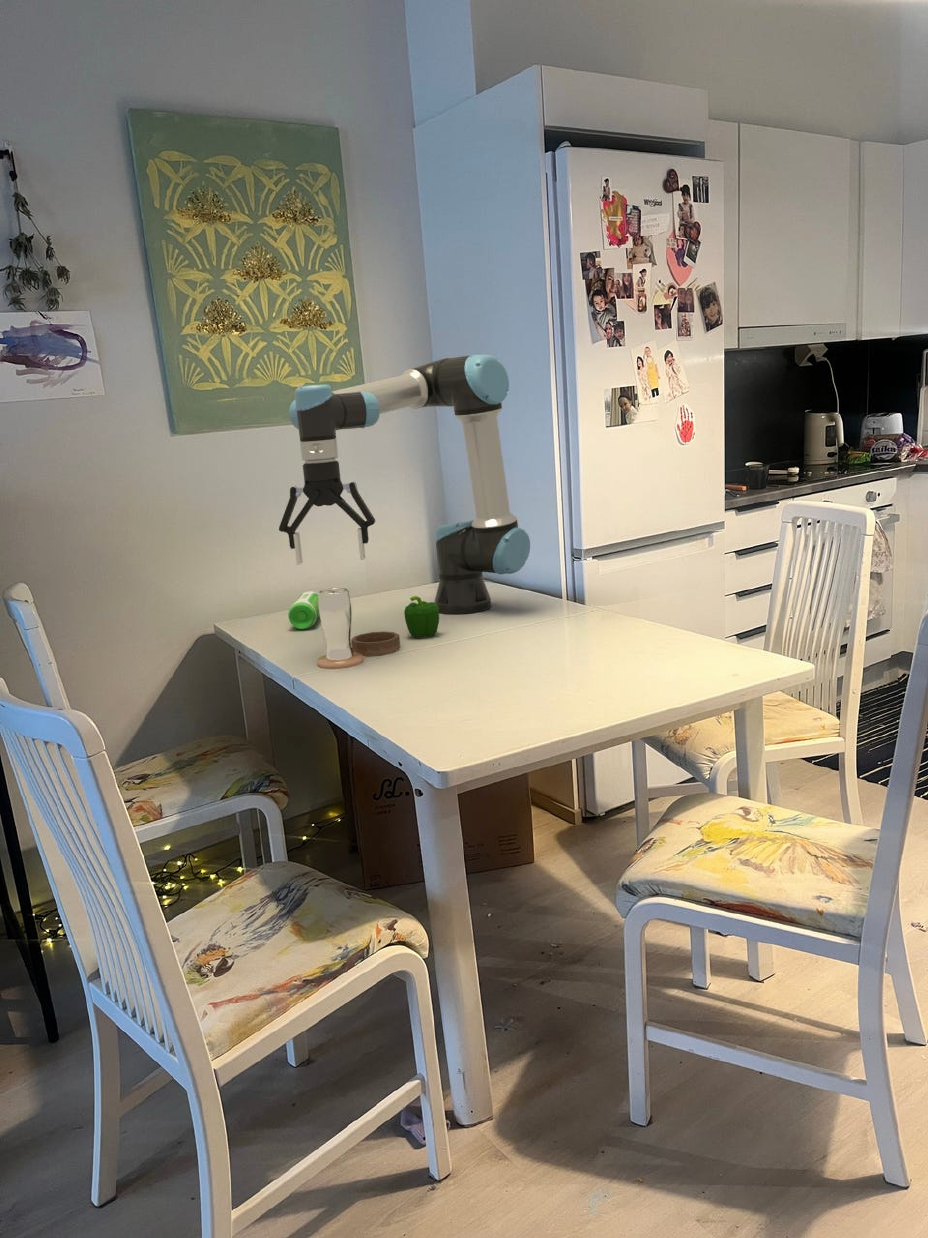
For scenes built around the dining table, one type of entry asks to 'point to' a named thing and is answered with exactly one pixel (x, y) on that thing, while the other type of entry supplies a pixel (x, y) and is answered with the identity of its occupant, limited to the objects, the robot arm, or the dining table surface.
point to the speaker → (304, 610)
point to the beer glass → (336, 622)
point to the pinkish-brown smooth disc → (340, 662)
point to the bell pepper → (422, 618)
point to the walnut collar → (376, 643)
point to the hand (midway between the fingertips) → (331, 561)
